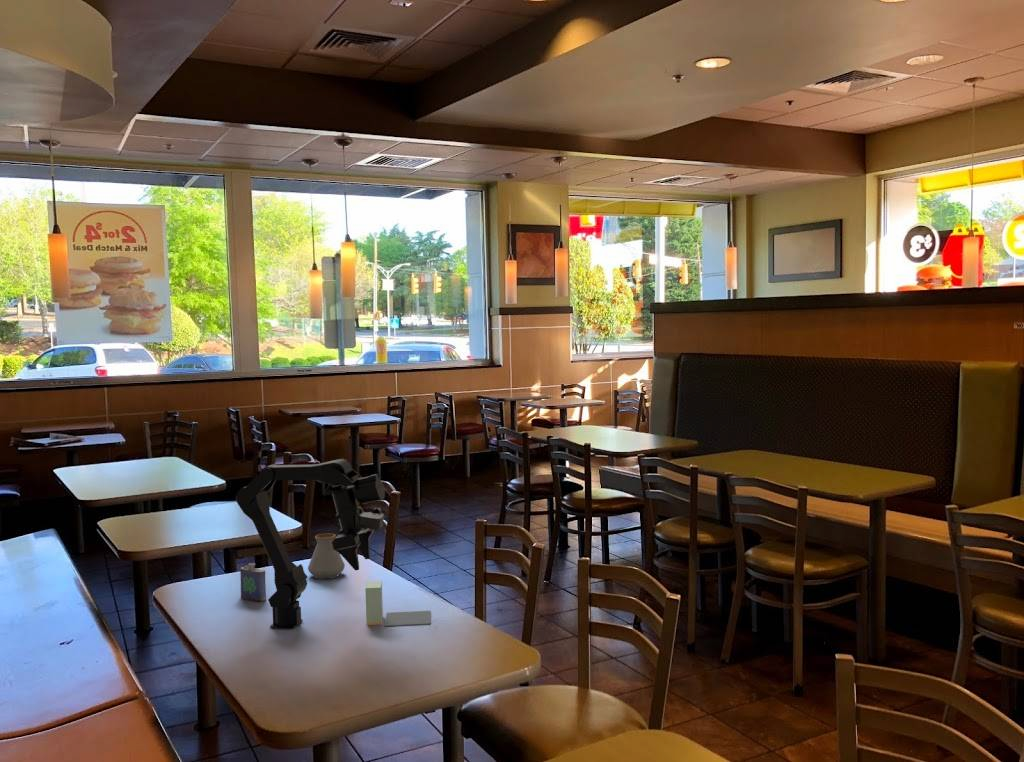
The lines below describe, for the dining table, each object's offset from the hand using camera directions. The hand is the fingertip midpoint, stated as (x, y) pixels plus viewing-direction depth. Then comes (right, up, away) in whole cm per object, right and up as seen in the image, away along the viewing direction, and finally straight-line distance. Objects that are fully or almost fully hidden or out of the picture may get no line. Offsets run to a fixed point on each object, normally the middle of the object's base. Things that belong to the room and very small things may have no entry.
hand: (362, 564), depth 225 cm
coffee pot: (-17, -14, +44) cm, 50 cm away
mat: (+11, -16, +7) cm, 21 cm away
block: (+2, -17, +6) cm, 18 cm away
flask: (-37, -16, +26) cm, 48 cm away
